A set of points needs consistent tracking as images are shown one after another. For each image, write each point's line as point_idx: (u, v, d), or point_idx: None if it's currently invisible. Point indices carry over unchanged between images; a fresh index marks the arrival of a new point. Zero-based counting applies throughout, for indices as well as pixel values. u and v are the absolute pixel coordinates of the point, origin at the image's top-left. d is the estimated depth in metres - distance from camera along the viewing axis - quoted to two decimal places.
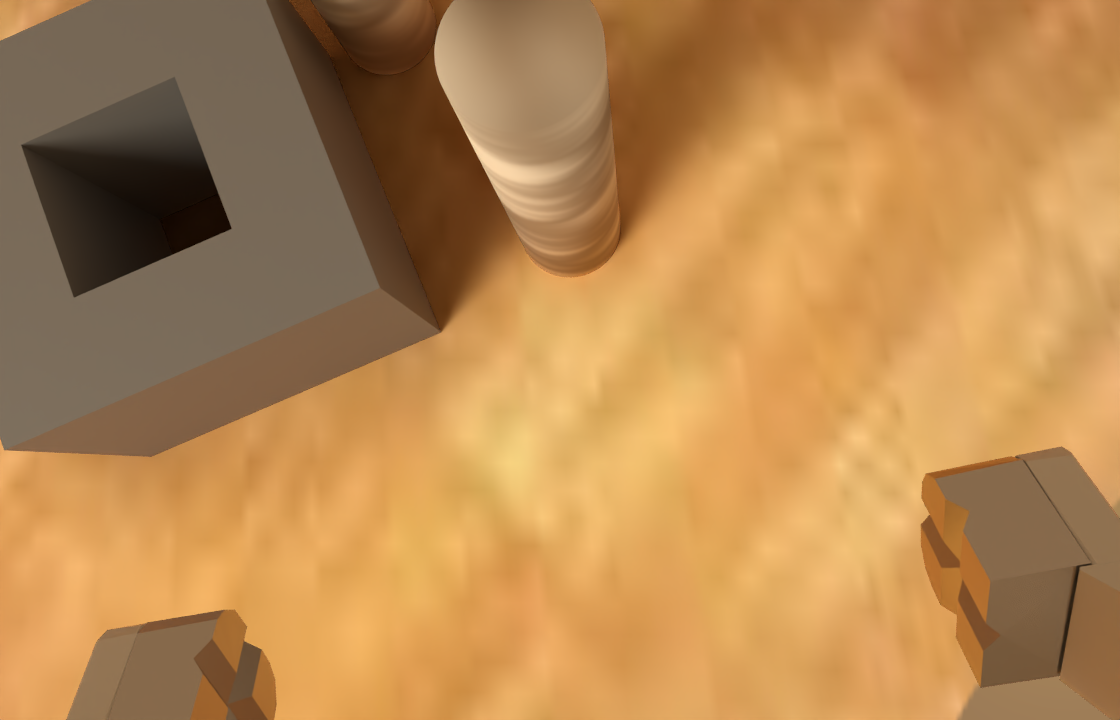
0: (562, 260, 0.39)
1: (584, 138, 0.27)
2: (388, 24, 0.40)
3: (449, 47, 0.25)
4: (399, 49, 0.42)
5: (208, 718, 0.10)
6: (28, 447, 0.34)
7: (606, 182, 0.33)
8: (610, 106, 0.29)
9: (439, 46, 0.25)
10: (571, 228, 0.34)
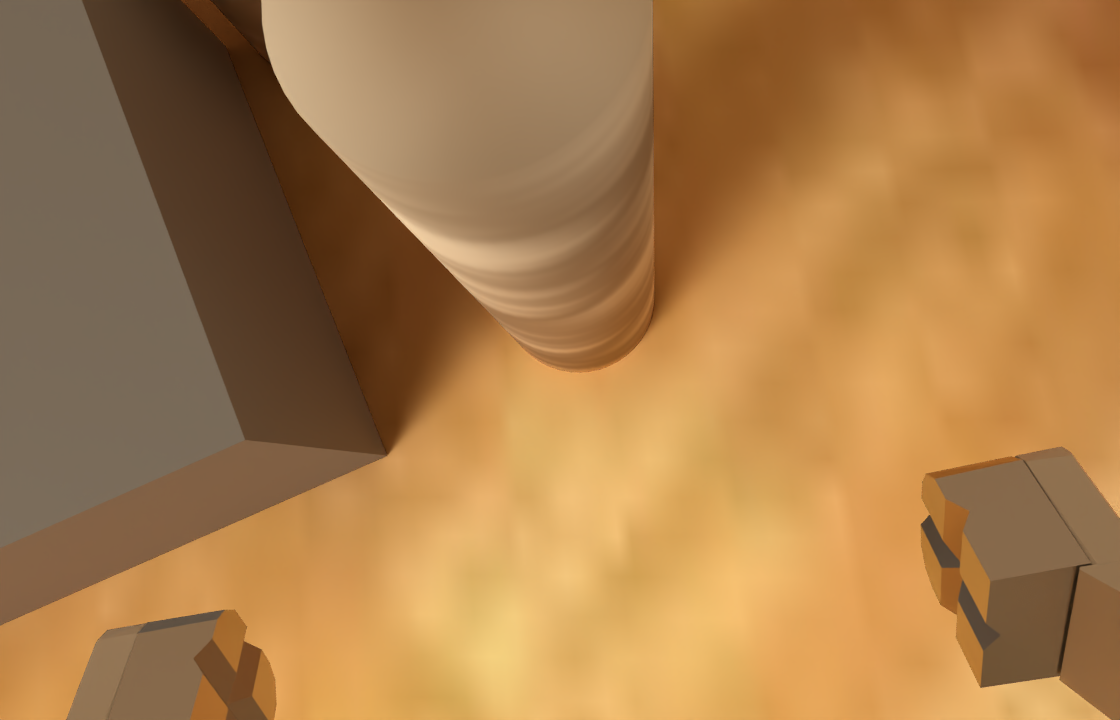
0: (566, 357, 0.25)
1: (605, 185, 0.13)
2: None
3: None
4: None
5: (208, 718, 0.10)
6: None
7: (640, 251, 0.18)
8: None
9: None
10: (579, 324, 0.20)
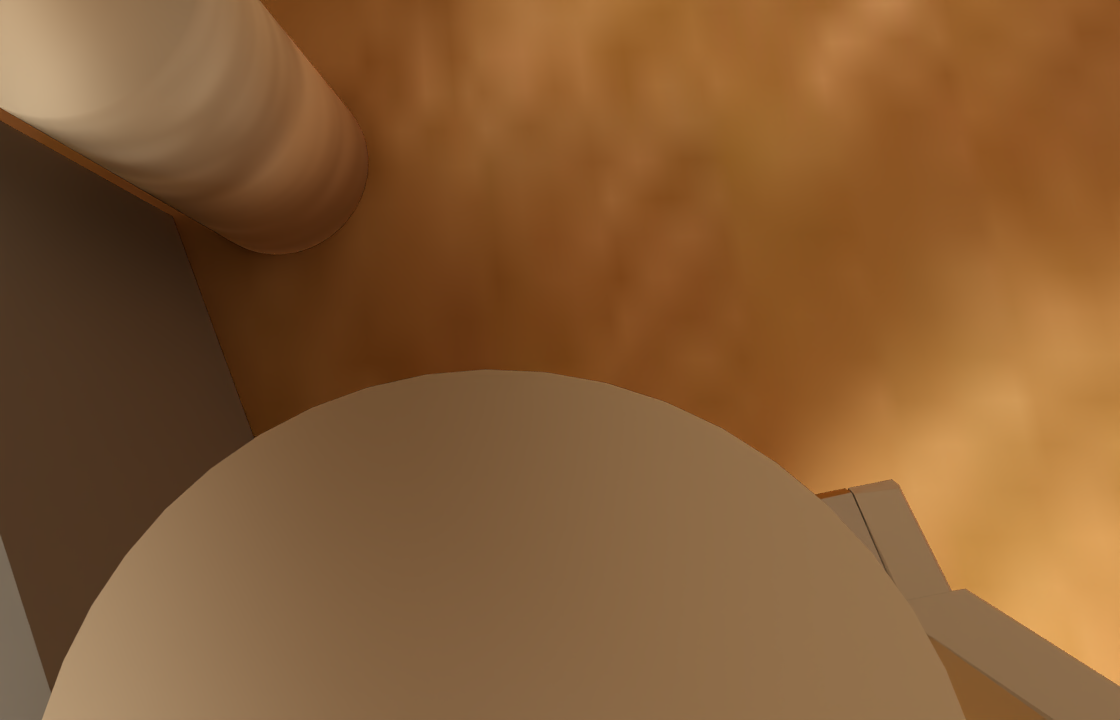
0: None
1: None
2: (254, 188, 0.20)
3: None
4: (289, 220, 0.22)
5: None
6: None
7: None
8: None
9: None
10: None
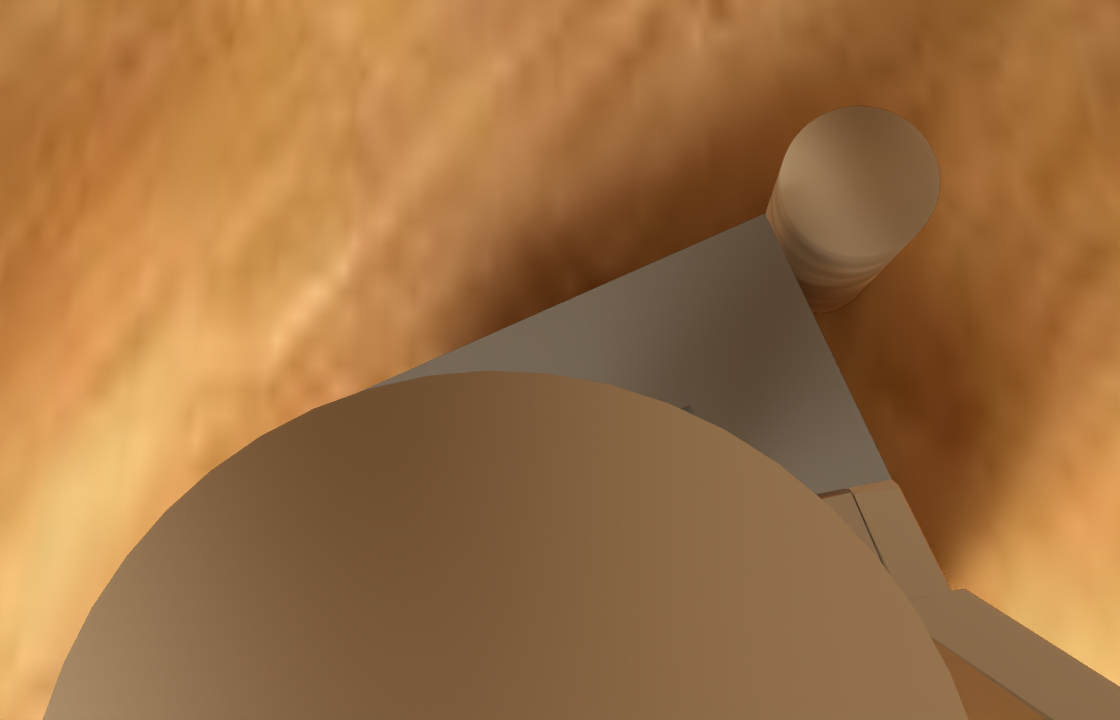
0: None
1: None
2: (869, 280, 0.32)
3: None
4: (853, 295, 0.34)
5: None
6: None
7: None
8: None
9: None
10: None
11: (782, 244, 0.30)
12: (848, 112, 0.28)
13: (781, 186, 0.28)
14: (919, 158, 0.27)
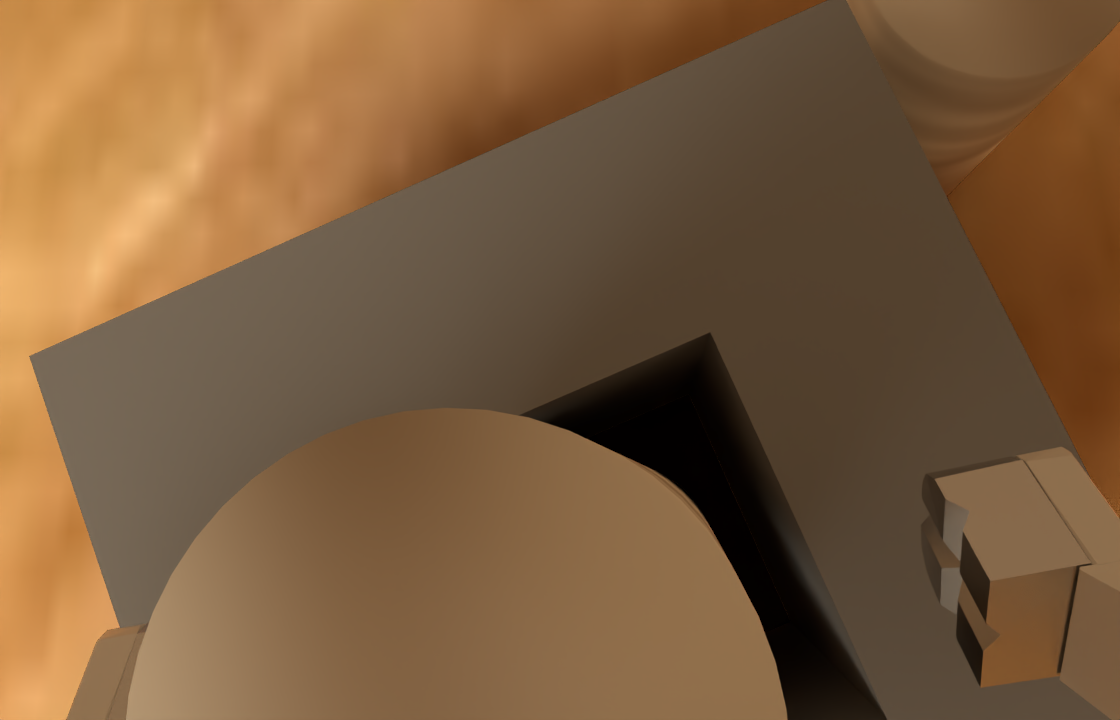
0: None
1: None
2: (983, 155, 0.20)
3: None
4: (946, 190, 0.22)
5: None
6: None
7: None
8: None
9: (142, 719, 0.07)
10: None
11: None
12: None
13: None
14: None
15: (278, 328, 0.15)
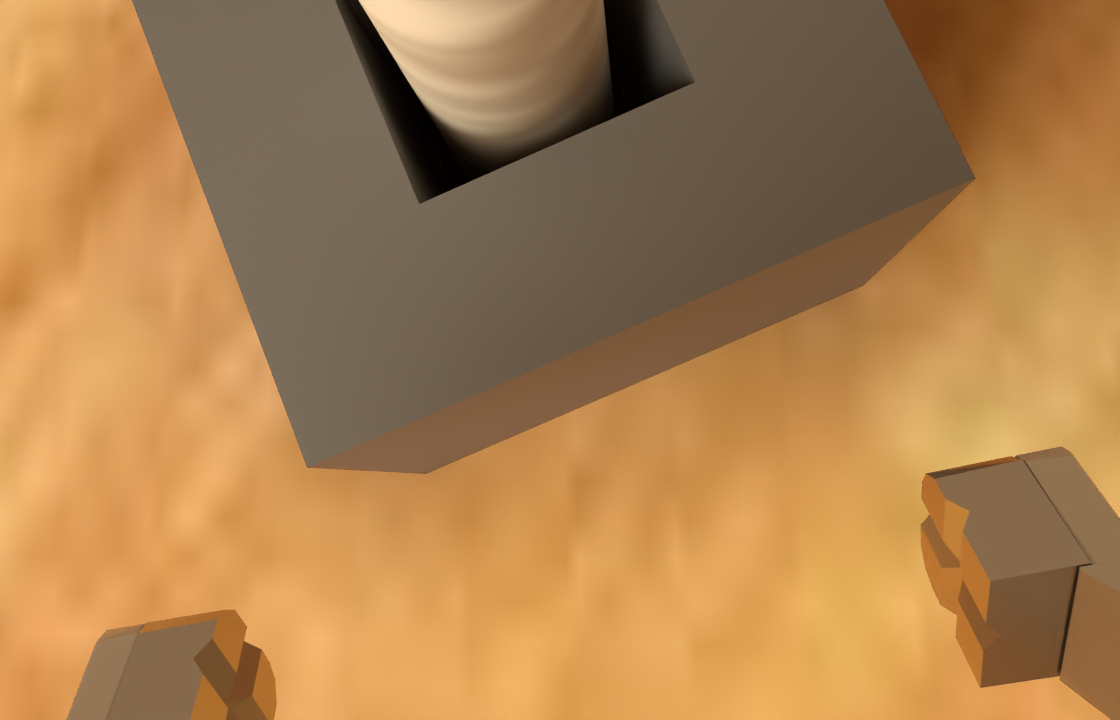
0: None
1: None
2: None
3: None
4: None
5: (208, 718, 0.10)
6: (335, 462, 0.20)
7: (591, 66, 0.20)
8: None
9: None
10: (538, 150, 0.22)
11: None
12: None
13: None
14: None
15: None
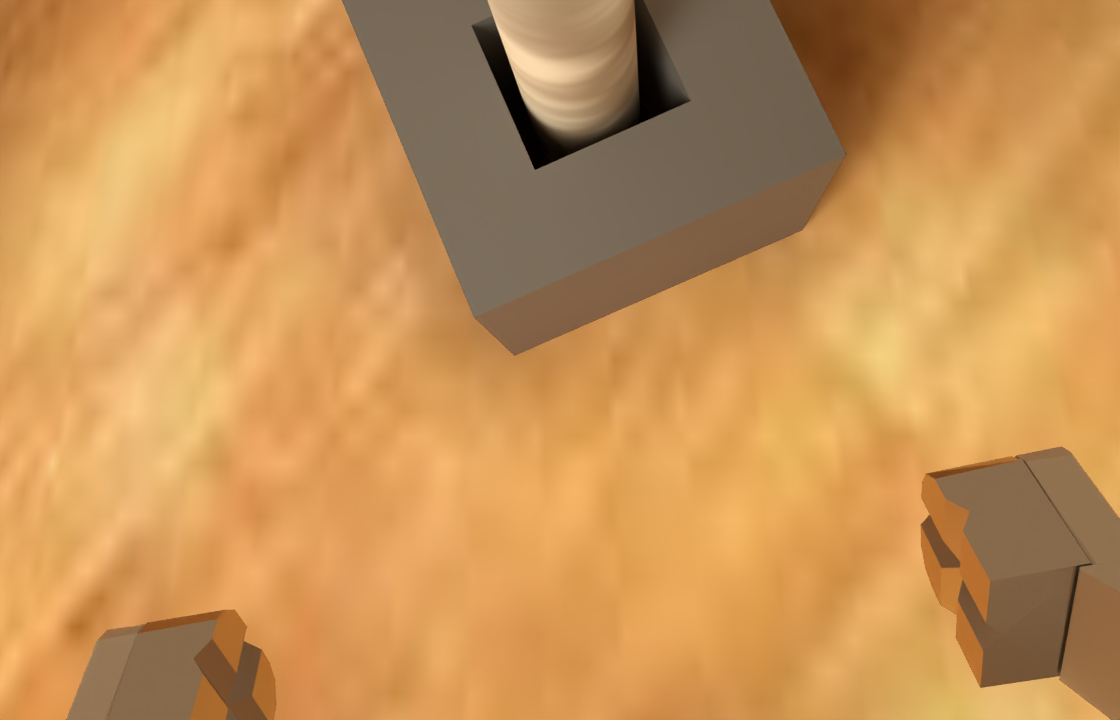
0: None
1: (611, 30, 0.29)
2: None
3: None
4: None
5: (208, 718, 0.10)
6: (486, 318, 0.35)
7: (630, 91, 0.35)
8: None
9: None
10: (597, 139, 0.36)
11: None
12: None
13: None
14: None
15: None
